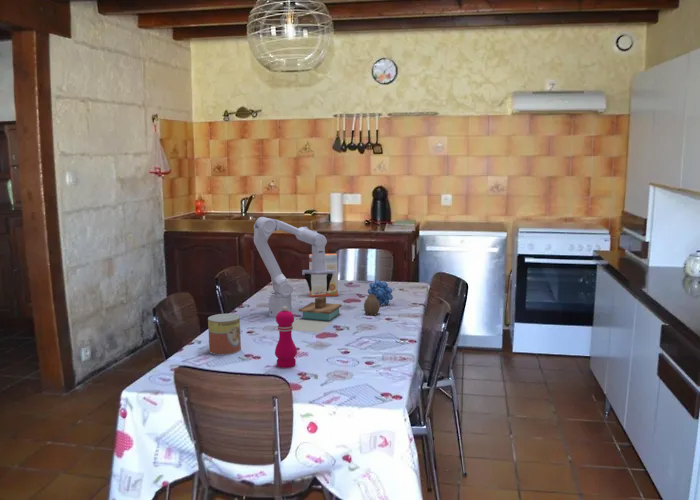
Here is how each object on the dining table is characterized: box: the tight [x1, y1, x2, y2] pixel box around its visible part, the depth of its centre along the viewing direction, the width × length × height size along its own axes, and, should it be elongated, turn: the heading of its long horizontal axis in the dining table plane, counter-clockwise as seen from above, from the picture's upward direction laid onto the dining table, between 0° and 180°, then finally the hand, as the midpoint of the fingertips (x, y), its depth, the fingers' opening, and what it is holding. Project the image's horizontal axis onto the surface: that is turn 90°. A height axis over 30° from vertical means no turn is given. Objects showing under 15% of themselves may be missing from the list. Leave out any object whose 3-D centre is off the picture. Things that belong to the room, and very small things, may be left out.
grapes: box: [367, 279, 394, 306], centre depth 282 cm, size 12×7×12 cm, turn 86°
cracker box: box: [308, 252, 339, 298], centre depth 304 cm, size 14×6×21 cm, turn 94°
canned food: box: [207, 313, 242, 356], centre depth 219 cm, size 11×11×12 cm
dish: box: [302, 308, 340, 322], centre depth 263 cm, size 12×12×4 cm
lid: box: [298, 296, 343, 314], centre depth 262 cm, size 14×14×5 cm
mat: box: [292, 318, 333, 333], centre depth 249 cm, size 16×16×1 cm
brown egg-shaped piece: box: [363, 293, 381, 316], centre depth 267 cm, size 7×7×9 cm
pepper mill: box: [274, 306, 298, 369], centre depth 202 cm, size 7×7×20 cm
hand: (319, 290), depth 273 cm, fingers open, 7 cm apart
